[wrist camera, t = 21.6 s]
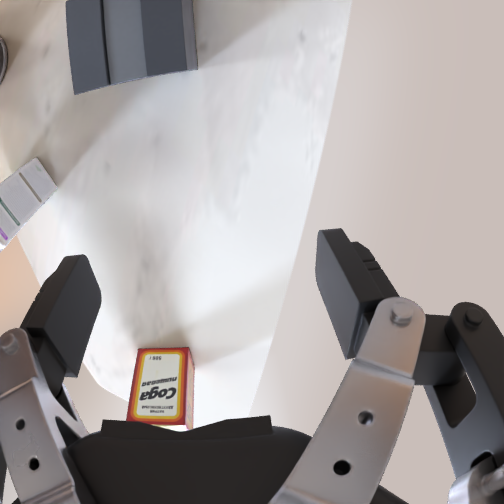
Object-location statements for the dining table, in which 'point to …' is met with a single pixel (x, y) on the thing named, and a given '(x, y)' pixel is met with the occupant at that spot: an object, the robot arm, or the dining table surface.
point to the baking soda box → (163, 388)
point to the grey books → (128, 40)
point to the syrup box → (22, 198)
